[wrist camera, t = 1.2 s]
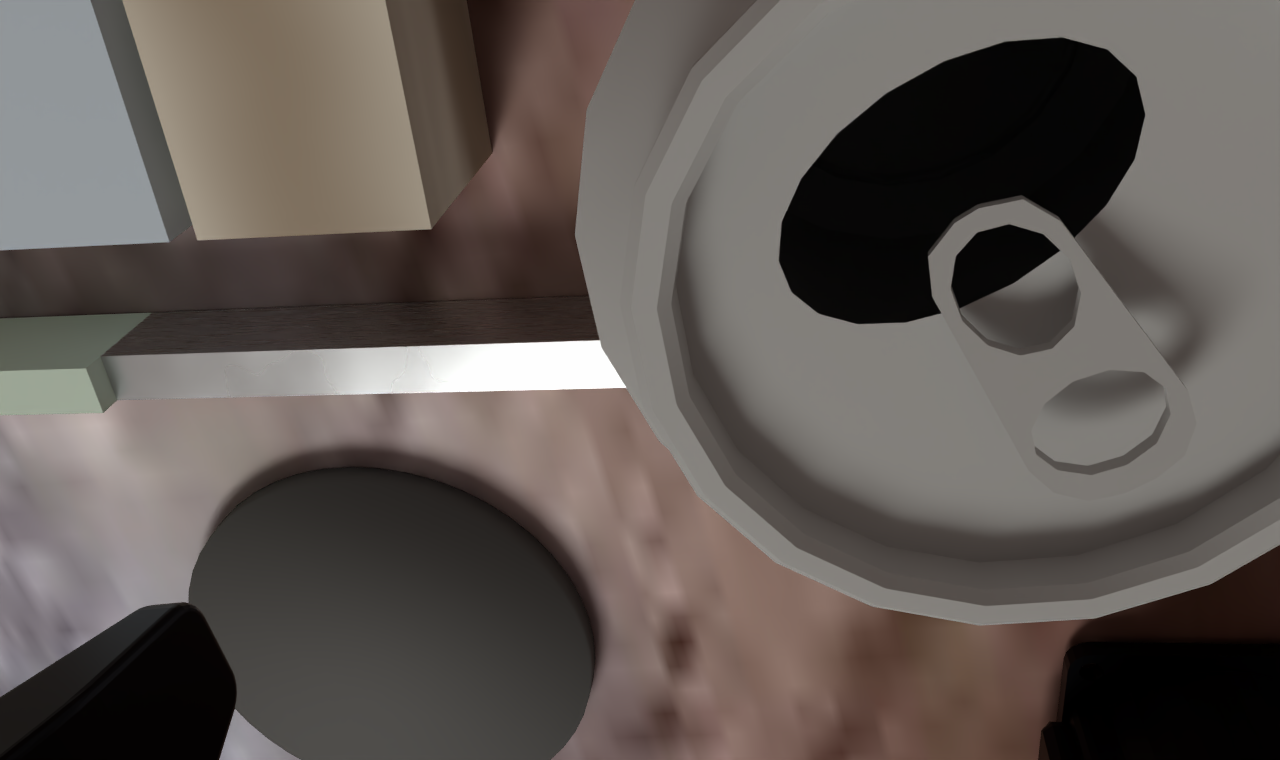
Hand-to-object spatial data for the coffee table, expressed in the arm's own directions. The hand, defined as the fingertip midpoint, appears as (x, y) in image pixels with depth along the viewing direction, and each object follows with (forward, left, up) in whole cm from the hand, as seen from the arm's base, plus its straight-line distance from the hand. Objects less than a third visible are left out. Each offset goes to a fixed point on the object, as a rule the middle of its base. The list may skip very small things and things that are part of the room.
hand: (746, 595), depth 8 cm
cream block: (+7, -2, -13) cm, 15 cm away
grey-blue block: (+12, -2, -13) cm, 18 cm away
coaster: (+10, +12, -13) cm, 21 cm away
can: (-2, -2, -13) cm, 14 cm away
